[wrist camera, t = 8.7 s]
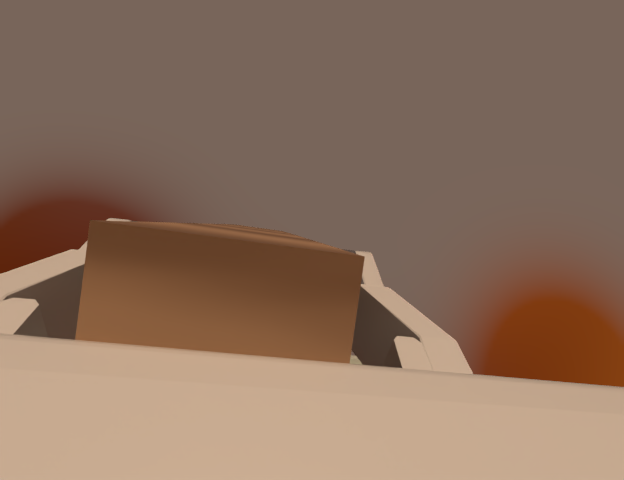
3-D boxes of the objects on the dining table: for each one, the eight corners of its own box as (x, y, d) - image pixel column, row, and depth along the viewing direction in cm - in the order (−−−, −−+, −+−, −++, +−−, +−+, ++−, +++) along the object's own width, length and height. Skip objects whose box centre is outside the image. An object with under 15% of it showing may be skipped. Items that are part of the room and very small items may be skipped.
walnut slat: (345, 395, 6) (364, 256, 5) (71, 374, 5) (90, 219, 5) (279, 257, 29) (283, 231, 29) (230, 251, 29) (234, 224, 29)
